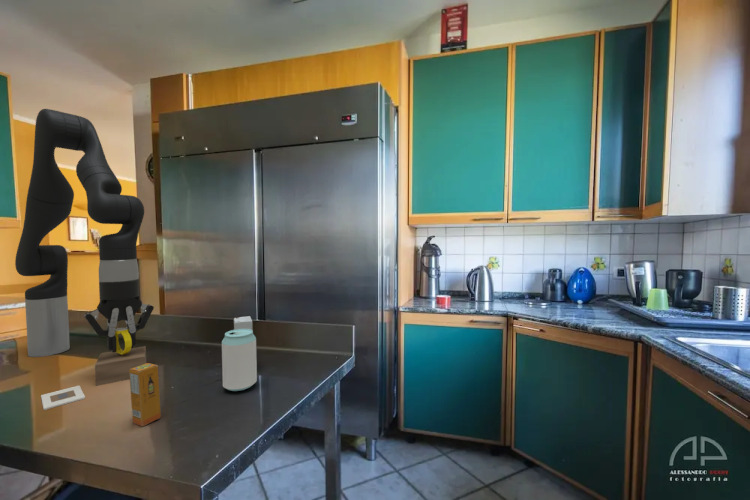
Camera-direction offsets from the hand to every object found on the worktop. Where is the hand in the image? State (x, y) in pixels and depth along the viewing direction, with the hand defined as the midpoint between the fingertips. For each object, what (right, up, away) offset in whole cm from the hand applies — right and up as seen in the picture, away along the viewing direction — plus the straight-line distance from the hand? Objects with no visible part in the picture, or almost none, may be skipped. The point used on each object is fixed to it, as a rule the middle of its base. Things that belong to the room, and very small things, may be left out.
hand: (121, 349), depth 79 cm
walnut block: (0, -6, 0) cm, 6 cm away
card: (-3, -7, -11) cm, 14 cm away
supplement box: (+20, -7, -20) cm, 29 cm away
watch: (0, -1, 0) cm, 1 cm away
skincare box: (+28, -6, +5) cm, 29 cm away
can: (+31, -6, -6) cm, 32 cm away
